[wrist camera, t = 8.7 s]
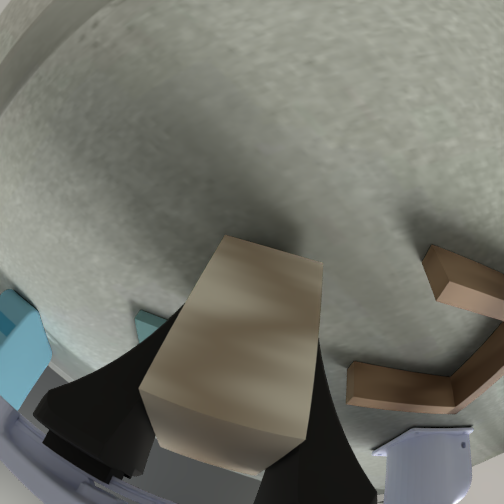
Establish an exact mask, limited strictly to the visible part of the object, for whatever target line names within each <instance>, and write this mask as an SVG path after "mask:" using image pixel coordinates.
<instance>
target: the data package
mask: <svg viewBox="0 0 504 504" xmlns="http://www.w3.org/2000/svg"><path fill="white" fill-rule="evenodd" d="M51 357H52V350H51V348H50V345H49V342H48V339H47V336H46V334H45V331H44V327H43V324H42V321H41V318H40V315H39V312H38V311H37V310H36V309H35V308H34V307H33V306H31V305H30V304H29V303H28V302H27V301H25V300H24V299H23V298H22V297H21V296H19V295H18V294H17V293H16V292H15V291H14V290H12V289H8V290H5V291H4V292H3V293H2V294H1V295H0V395H1V396H2V397H3V398H4V399H5V400H6V401H7V402H8V403H9V404H10V405H11V406H12V407H14V408H15V409H16V410H17V411H18V409H19V408H20V406H21V404H22V403H23V401H24V400H25V398H26V397H27V395H28V393H29V392H30V390H31V389H32V387H33V386H34V384H35V383H36V381H37V380H38V378H39V377H40V375H41V374H42V372H43V371H44V369H45V368H46V367H47V365H48V364H49V362H50V360H51Z"/></svg>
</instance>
